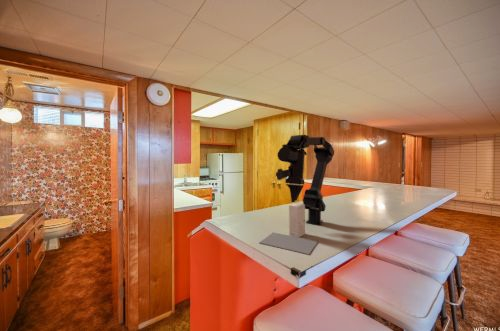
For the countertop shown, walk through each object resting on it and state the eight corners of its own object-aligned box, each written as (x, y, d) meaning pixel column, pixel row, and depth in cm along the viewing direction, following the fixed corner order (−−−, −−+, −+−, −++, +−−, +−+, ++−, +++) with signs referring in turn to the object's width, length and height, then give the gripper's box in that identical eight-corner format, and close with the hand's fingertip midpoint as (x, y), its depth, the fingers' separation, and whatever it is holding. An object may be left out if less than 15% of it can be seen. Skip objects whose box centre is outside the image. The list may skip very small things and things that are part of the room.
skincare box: (298, 238, 79) (298, 206, 79) (288, 235, 82) (288, 205, 82) (305, 233, 84) (305, 204, 84) (295, 231, 87) (295, 202, 87)
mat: (273, 233, 85) (273, 232, 85) (318, 241, 75) (318, 241, 75) (259, 243, 74) (259, 242, 74) (309, 254, 65) (309, 254, 65)
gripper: (281, 165, 99) (278, 197, 98) (273, 160, 81) (270, 200, 80) (305, 166, 95) (303, 200, 94) (303, 162, 78) (300, 204, 77)
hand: (294, 201), depth 86 cm, fingers open, 9 cm apart
